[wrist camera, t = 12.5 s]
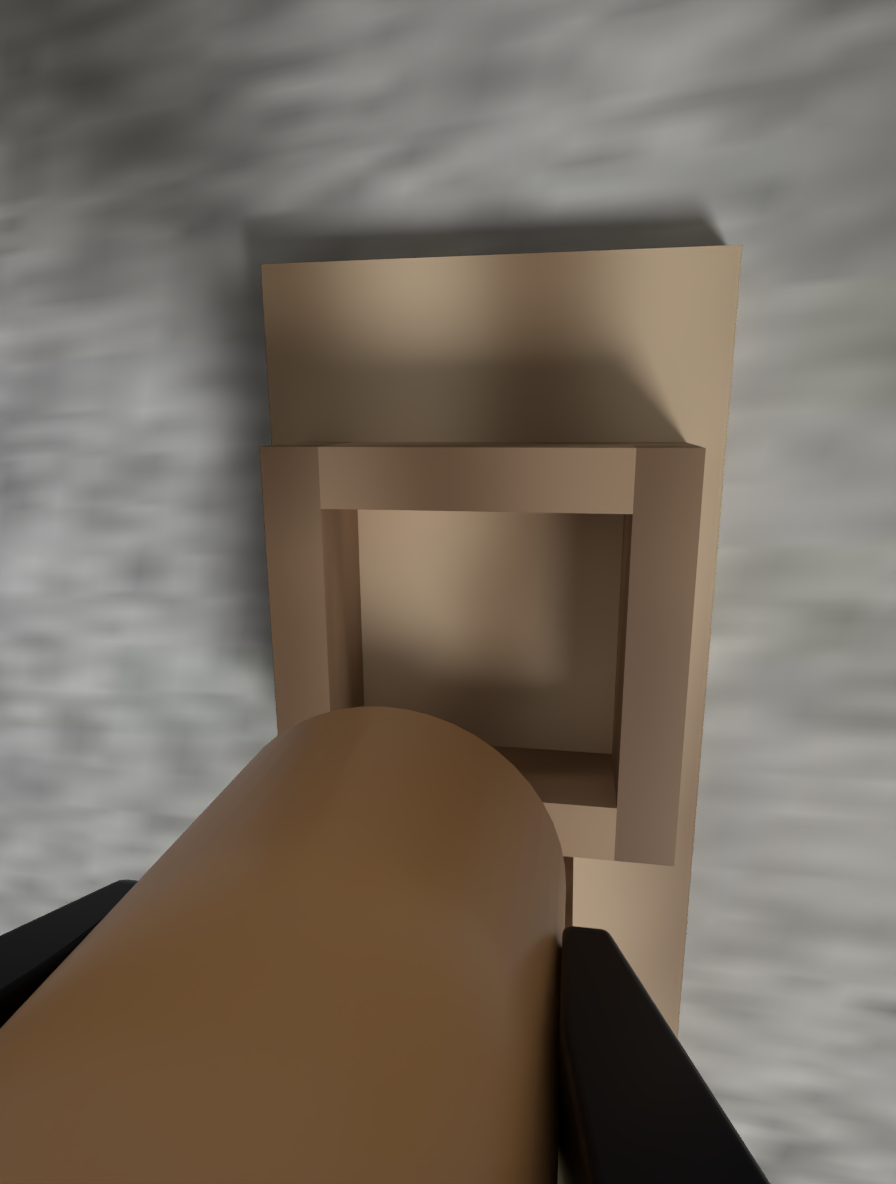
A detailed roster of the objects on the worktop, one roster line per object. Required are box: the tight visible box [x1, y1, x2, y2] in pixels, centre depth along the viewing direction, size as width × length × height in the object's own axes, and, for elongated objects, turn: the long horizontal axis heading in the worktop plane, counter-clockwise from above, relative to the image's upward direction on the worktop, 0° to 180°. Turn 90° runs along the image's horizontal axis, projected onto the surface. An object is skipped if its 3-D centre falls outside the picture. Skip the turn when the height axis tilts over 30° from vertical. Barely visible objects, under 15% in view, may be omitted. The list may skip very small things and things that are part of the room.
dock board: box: [260, 245, 742, 1038], centre depth 17 cm, size 10×24×4 cm, turn 1°
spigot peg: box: [0, 707, 566, 1184], centre depth 5 cm, size 4×4×7 cm
